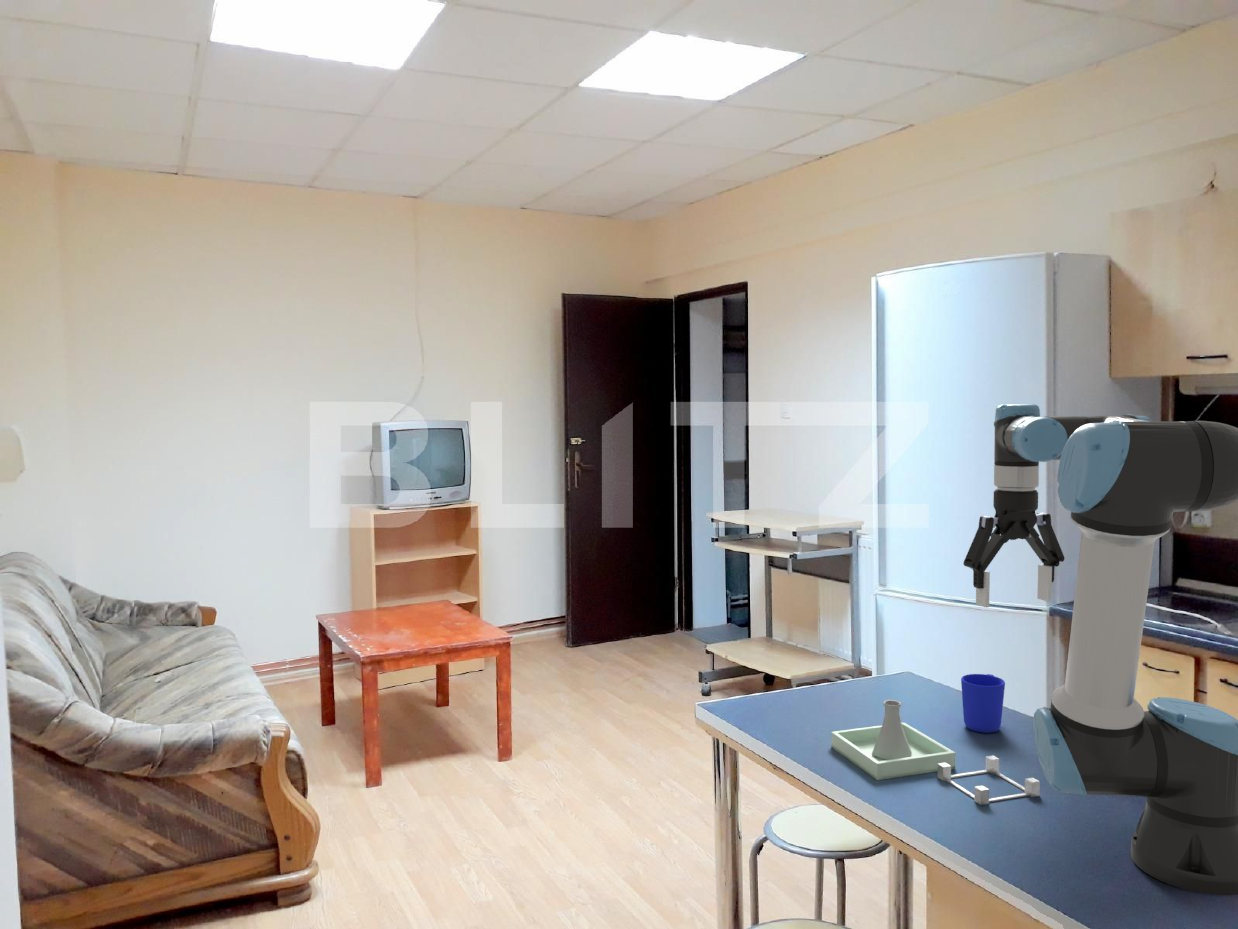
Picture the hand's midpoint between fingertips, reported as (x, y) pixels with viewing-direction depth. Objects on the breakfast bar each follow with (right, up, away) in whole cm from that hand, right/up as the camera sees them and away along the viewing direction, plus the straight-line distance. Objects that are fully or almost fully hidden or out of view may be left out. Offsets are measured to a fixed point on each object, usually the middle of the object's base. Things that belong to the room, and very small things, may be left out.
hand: (1013, 603), depth 169 cm
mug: (+1, -28, +17) cm, 32 cm away
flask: (-22, -29, +1) cm, 36 cm away
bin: (-22, -29, +1) cm, 37 cm away
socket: (-10, -30, -12) cm, 33 cm away
